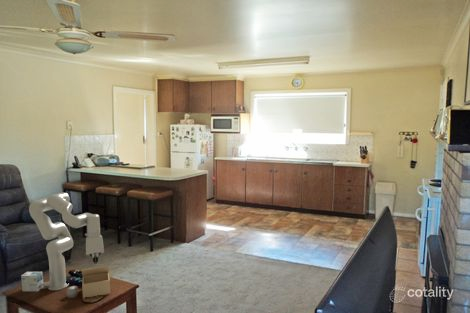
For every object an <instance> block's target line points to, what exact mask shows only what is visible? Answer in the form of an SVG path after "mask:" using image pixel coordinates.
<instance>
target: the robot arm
mask: <svg viewBox="0 0 470 313" xmlns="http://www.w3.org/2000/svg"><path fill="white" fill-rule="evenodd" d="M70 199H71V198H70V196H69V194H68V193H67V192H59V193H58V192H57V193H54V194H51V195H49V196H48V197H45V198H44V197H43V198H41V199H40V198H39V199H37V200H35V201H32V202H31V203H30V204H29V207H28V208H29V214H30V217H31V218H32V220H33V221H34V222H35V224H36V226H37V228H38V230H39V232H40V235H41V236H42V238H43V239H44V240H46V241H47V240H48V241H49V240H51V241H50V242H48V243H47V245H46V248H45V249H46V250H45V251H46V253H47V258H48V266H49V270H48V271H49V280H48V281H43V286H44V287H47V289H48V290H49V291H60V290H63V289H67V288H68V287H69V285H70V283H68V284H67V283H66V281H67V274H66V273H67V272H66V270H67V269H66V260H65V256H64V255H63V253H64V252H66V251H69V250H71V249H72V248H73V246H74V240H73V237H72V235H71V233H70V231H69V229H68V227H67V226H66V225H65V224H67V225H68V226H69V227H71V228H73V229H79V228H83V227H84V226H86V233H84V236H85V237H86V239H85V255H86V256H89V257H91V258H92V262H93V263H94V265H95V264H98V262H99V256H100V255H101V254H104V253H105V249H104V248H105V247H104V240H103V235H101V223H100V215H99V214H97V213H94V214H93V213H90V212H84V213H81V214H77V215H74V214H72V213H71V212H72V210H73V204H72V203H71V202H70V201H71V200H70ZM52 210H54V211H56V212H58V213H59V214H61V218H62V221H63V222H64V223H63V222H61V221H57V222H54V223H53V221H52V220H51V217H49V216H48V215H47V214H46V213H45V212H47V211H52ZM55 238H56V239H55ZM95 254H96V255H95Z"/></svg>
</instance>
